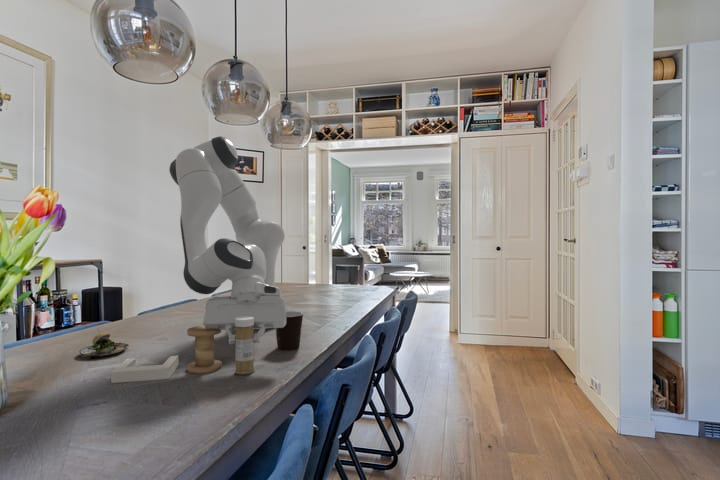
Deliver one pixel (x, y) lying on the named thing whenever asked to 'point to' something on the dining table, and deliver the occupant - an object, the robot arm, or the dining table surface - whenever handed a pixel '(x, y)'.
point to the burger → (102, 347)
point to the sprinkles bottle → (244, 345)
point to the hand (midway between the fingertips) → (244, 342)
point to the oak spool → (203, 351)
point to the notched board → (143, 371)
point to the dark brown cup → (290, 331)
